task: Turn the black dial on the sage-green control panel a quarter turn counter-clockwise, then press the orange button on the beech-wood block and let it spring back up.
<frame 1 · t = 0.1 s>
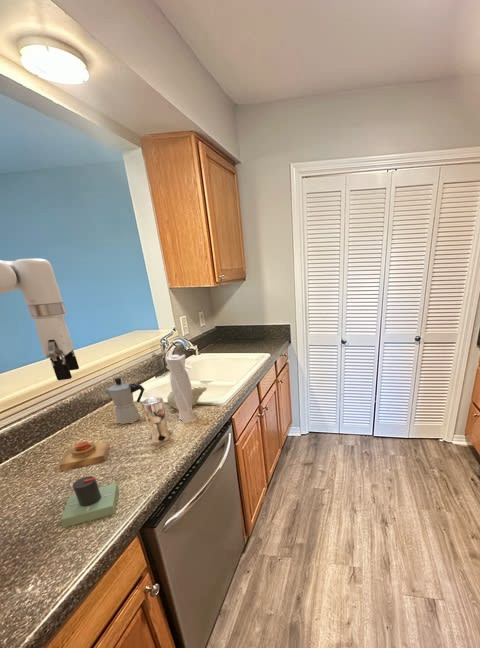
hand: (69, 374, 90), 30 cm above the countertop, tool pointing down, fingers open, 9 cm apart
cheese: (189, 405, 143), on the countertop
coffee maker: (131, 420, 132), on the countertop
skyscraper: (187, 419, 130), on the countertop
dial: (87, 490, 81), point 5 cm above the countertop, hinge at 0.0°
dispense button: (82, 446, 104), point 4 cm above the countertop, slide at 0.1 cm
dial panel: (93, 507, 83), on the countertop
beer glass: (161, 439, 115), on the countertop
button block: (86, 458, 105), on the countertop
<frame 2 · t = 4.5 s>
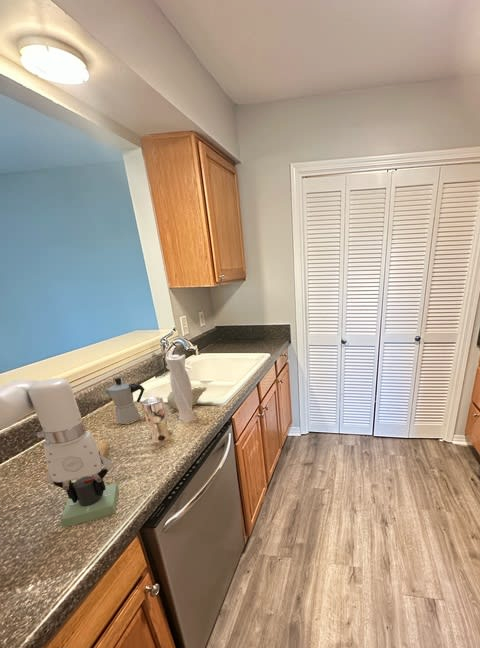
hand: (89, 495, 81), 4 cm above the countertop, tool pointing down, fingers closed on dial, 4 cm apart
dial: (87, 490, 81), point 5 cm above the countertop, hinge at 0.1°, touching gripper
everything else where it was.
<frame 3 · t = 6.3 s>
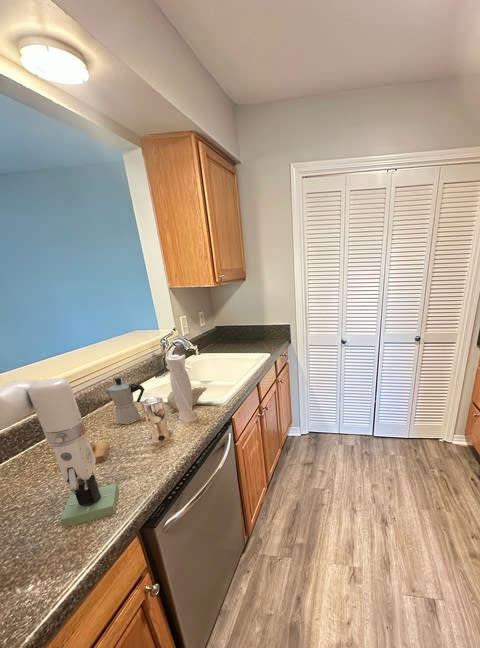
hand: (89, 495, 81), 4 cm above the countertop, tool pointing down, fingers closed on dial, 4 cm apart
dial: (87, 490, 81), point 5 cm above the countertop, hinge at 89.5°, touching gripper
everything else where it was.
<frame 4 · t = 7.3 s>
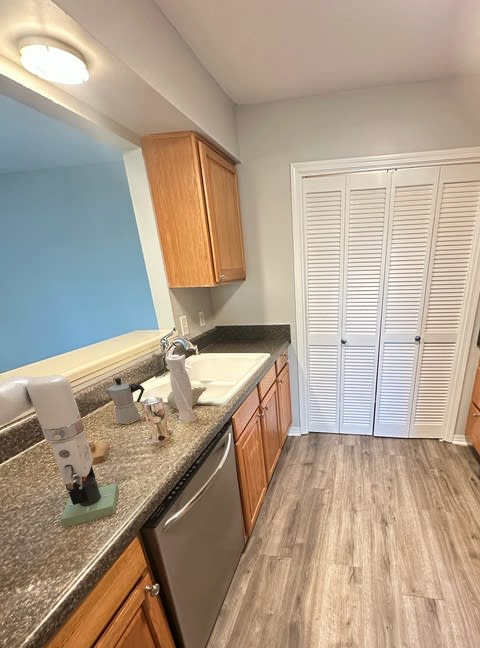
hand: (85, 490, 80), 6 cm above the countertop, tool pointing down, fingers open, 9 cm apart
dial: (87, 490, 81), point 5 cm above the countertop, hinge at 88.8°
everything else where it was.
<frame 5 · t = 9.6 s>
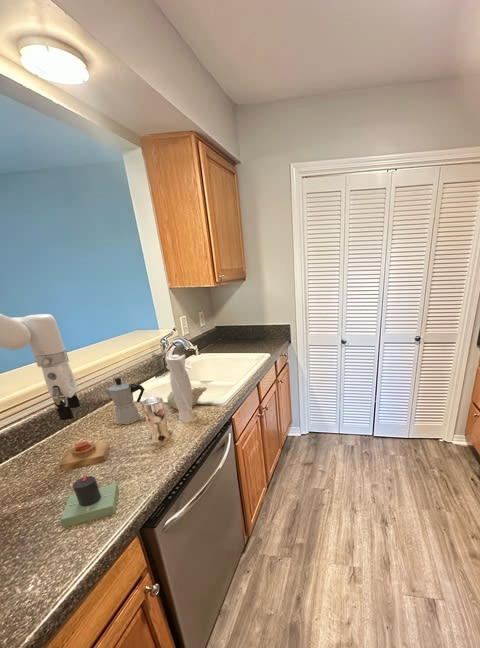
hand: (71, 413, 99), 16 cm above the countertop, tool pointing down, fingers open, 9 cm apart
nothing on the countertop moved.
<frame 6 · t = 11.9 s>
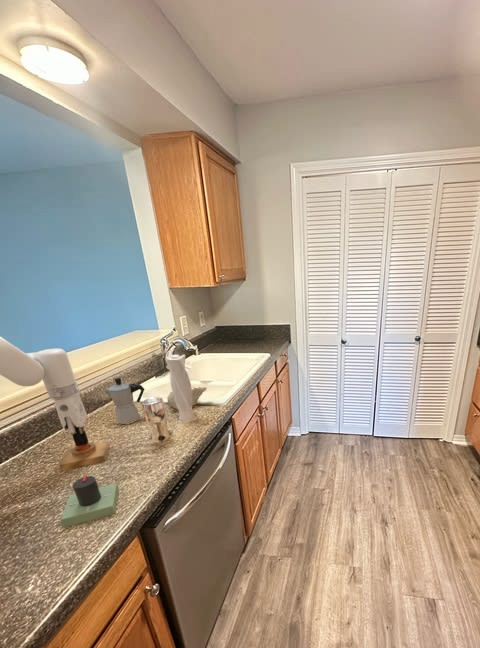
hand: (82, 443, 104), 5 cm above the countertop, tool pointing down, fingers closed
dispense button: (82, 446, 104), point 4 cm above the countertop, slide at 0.1 cm, touching gripper
everything else where it was.
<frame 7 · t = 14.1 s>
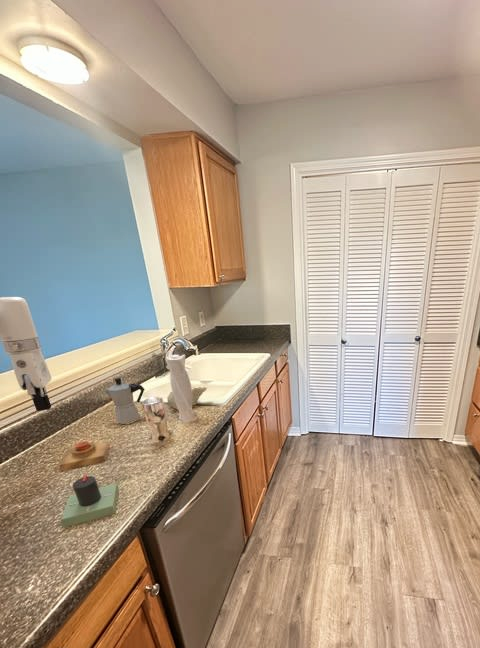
hand: (44, 409, 92), 20 cm above the countertop, tool pointing down, fingers closed
dispense button: (82, 446, 104), point 4 cm above the countertop, slide at 0.1 cm
everything else where it was.
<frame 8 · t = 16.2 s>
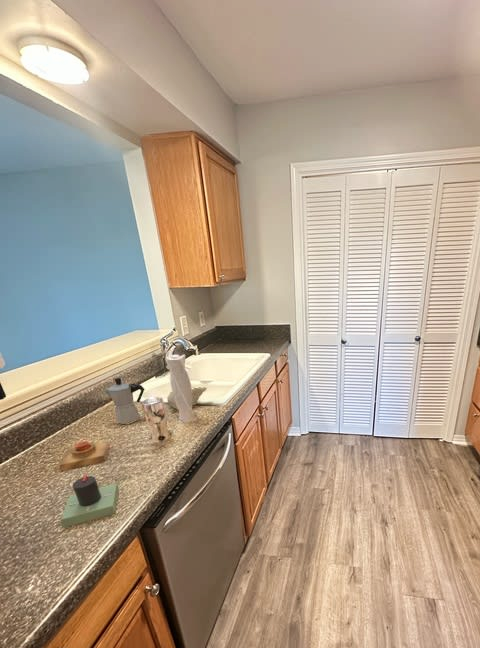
nothing on the countertop moved.
at the end: dial at +89° (first picture: +0°); dispense button pushed in 1.1 cm at the most during the clip, back to where it started at the end; dispense button slide at 0.1 cm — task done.
